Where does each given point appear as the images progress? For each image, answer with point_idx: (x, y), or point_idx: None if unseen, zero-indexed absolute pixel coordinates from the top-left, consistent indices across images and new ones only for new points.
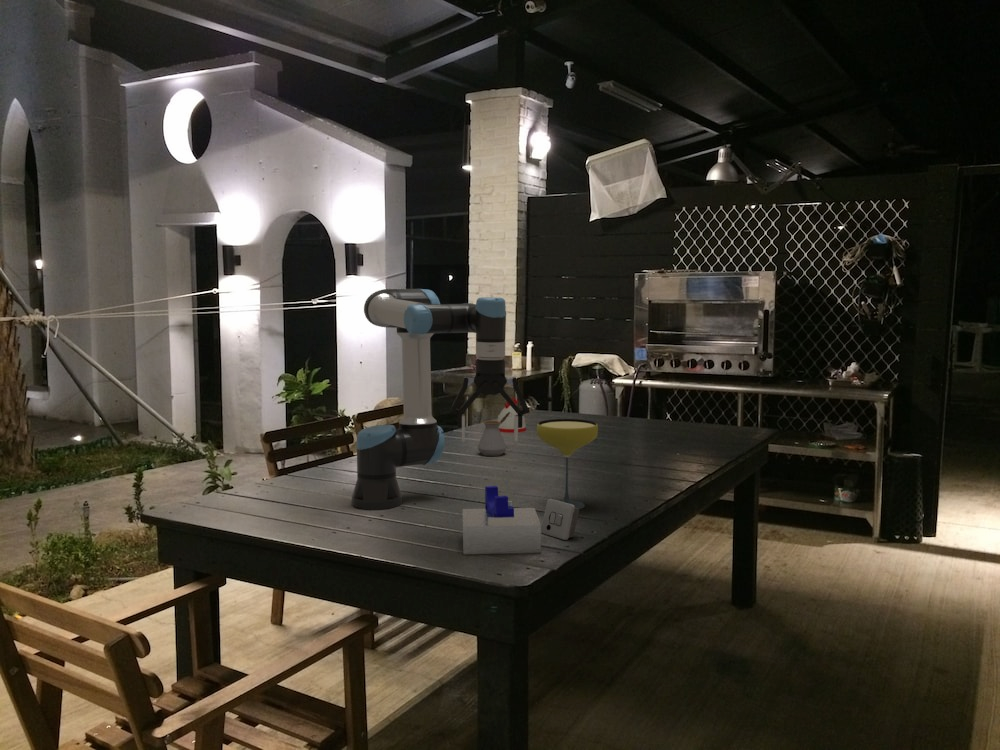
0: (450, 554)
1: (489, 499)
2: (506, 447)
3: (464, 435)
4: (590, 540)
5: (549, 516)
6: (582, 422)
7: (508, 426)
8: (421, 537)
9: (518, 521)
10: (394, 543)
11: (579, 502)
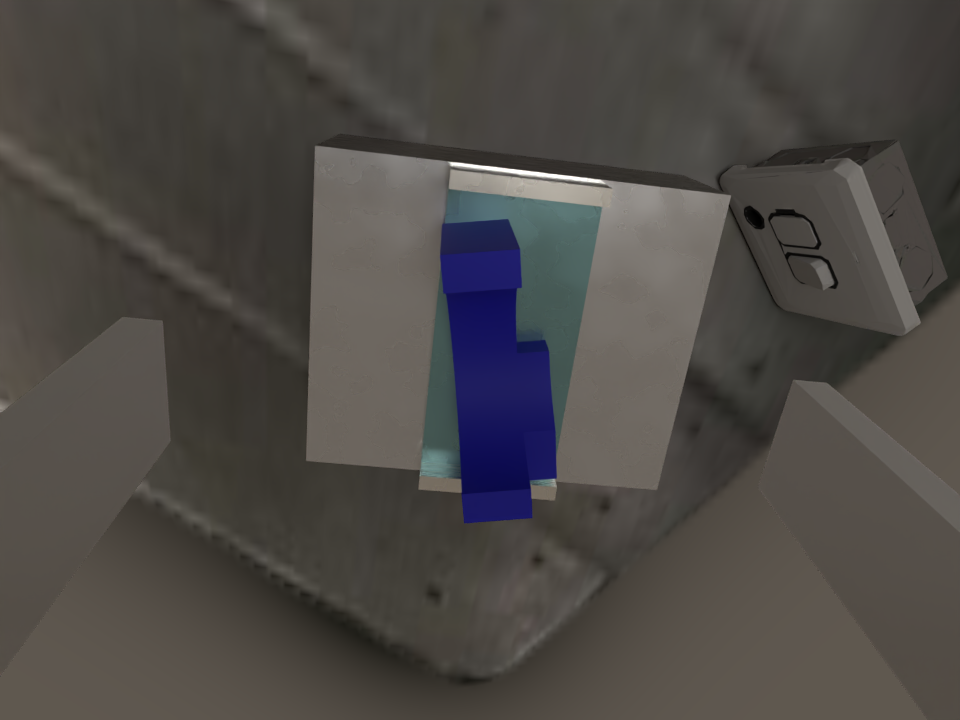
0: (276, 394)
1: (458, 297)
2: None
3: (137, 482)
4: None
5: (786, 211)
6: None
7: None
8: (133, 138)
9: (573, 425)
10: (13, 213)
11: None
